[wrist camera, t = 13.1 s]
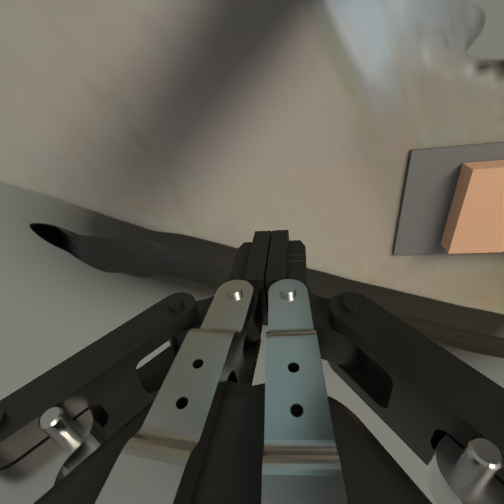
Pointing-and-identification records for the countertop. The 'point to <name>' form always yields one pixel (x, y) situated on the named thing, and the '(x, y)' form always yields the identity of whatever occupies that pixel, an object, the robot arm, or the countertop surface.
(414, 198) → the mat
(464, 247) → the tile
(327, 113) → the countertop surface
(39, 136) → the countertop surface
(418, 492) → the robot arm
